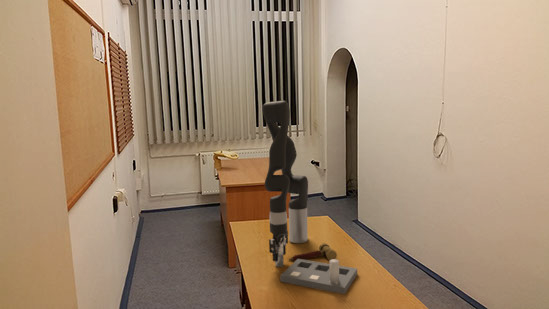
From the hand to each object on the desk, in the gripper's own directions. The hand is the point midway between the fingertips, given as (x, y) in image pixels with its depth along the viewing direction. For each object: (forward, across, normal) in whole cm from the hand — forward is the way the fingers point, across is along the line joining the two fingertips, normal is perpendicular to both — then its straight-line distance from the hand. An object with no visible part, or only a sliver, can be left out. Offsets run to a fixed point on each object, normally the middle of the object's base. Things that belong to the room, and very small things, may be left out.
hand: (279, 257), depth 175 cm
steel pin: (+3, 0, 0) cm, 3 cm away
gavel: (+4, -13, +10) cm, 17 cm away
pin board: (+3, +5, +20) cm, 21 cm away
